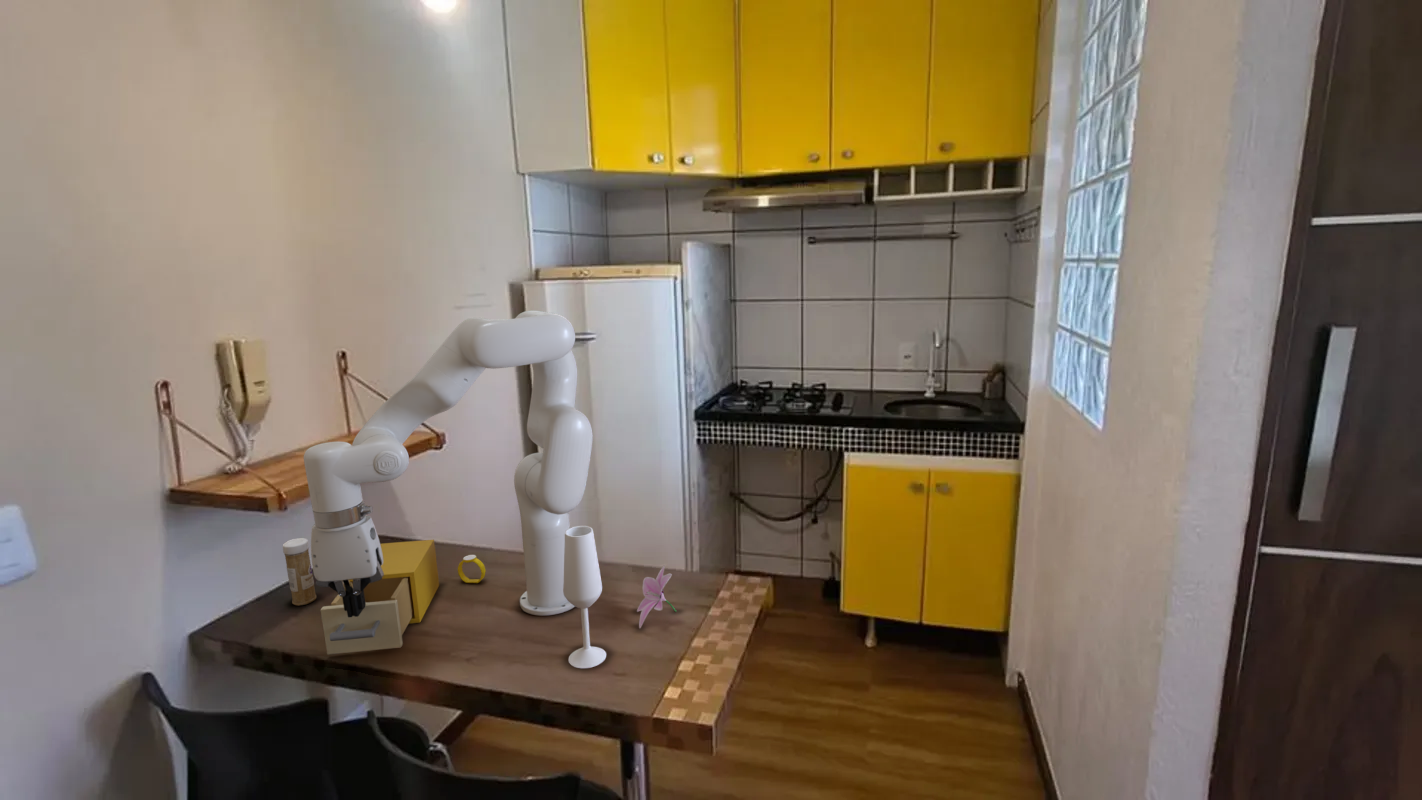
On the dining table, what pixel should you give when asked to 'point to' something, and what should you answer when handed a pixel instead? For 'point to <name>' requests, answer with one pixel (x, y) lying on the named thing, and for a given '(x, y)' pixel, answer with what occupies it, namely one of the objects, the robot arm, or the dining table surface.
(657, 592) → the lily
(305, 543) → the sprinkles bottle
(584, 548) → the champagne flute
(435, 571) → the cabinet
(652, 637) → the dining table surface
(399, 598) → the drawer
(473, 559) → the watch
